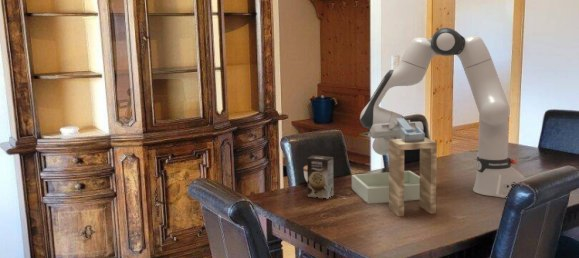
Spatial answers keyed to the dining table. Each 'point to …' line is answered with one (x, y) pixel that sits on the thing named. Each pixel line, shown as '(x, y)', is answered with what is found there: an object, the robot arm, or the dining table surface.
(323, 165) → the cookie box
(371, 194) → the pale green tray
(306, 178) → the lidded jar
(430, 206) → the birch stand
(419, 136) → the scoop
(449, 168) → the dining table surface
